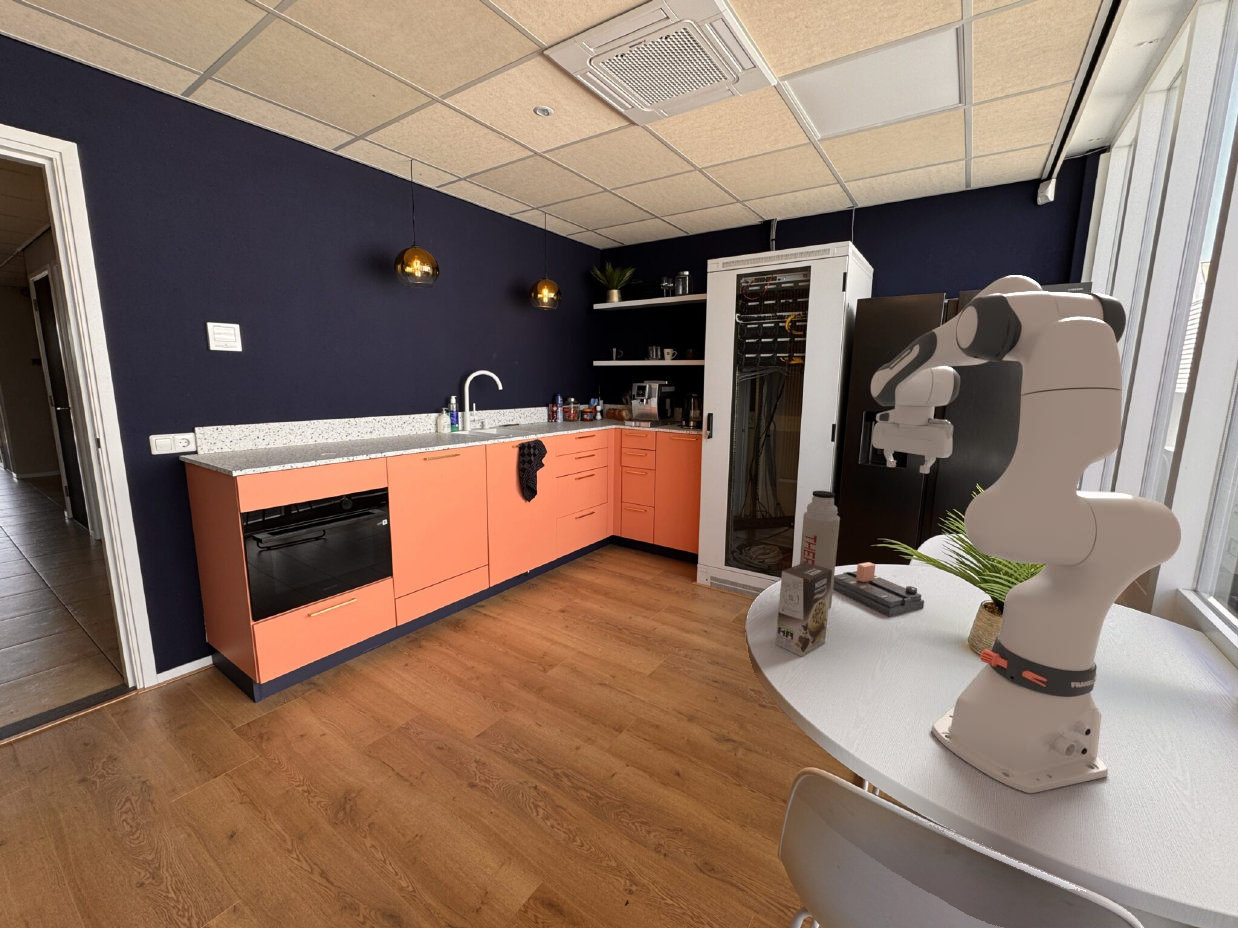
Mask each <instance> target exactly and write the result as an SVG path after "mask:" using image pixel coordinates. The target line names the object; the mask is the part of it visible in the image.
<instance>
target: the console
mask: <svg viewBox="0 0 1238 928" xmlns="http://www.w3.org/2000/svg"><path fill="white" fill-rule="evenodd" d="M856 576H857V570H856V571H846V572H842V573H841V574H836V575H835V574H834V583H833V592H835V593H838V594H841V595H842V596H845V597H847V598H849V599H850V600H853V601H854V602H857V603H858V604H860V605H862V606H865V607H867V608H869V609H870V610H873V611H875V612H878V613H880V614H881V615H884V616H886V617H888V618H891V617H895V616H899V615H904V614H907V613H910V612H915V611H918V610H919V611H920V610H923V609H924V606H925V600H923V599H922V594H920V593H918V588H917V587H916V586H911V585H909V586H906V587H905V586H901V585H899V584H896V583H894V582H891V581H889V580H887V579H885V578H882V577H880V576H879V575H875V574H874V580H870V584H868V583H865V582H862V581H859V580H857V579H856Z"/></svg>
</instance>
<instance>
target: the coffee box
mask: <svg viewBox="0 0 1238 928" xmlns="http://www.w3.org/2000/svg"><path fill="white" fill-rule="evenodd" d="M831 578H832V570H830V569H827V568H824V567H820V566H817V565H812V564H809V563H806V562H804V563H802V564H800V563H799V564H797V565H794V566H791V567H789V568H786V569H783V570H781V580H780V590H779V591H780V592H779V603H778V613H777V614H778V615H777V625H776V636H775V645H777V646H778V647H781V648H783V649H785V650H787V651H789V652H792V653H793V654H795V655H797V656H799V657H803V656H806V655H807V654H809V653H810V652H812V651H814V650H816V649H817V648H819V647H821V646H822V645H824V644H825V643H826V637H827V629H828V618H829V617H828V616H829V610H828V608H829V598H830V588H831Z"/></svg>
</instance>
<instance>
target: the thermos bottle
mask: <svg viewBox="0 0 1238 928" xmlns="http://www.w3.org/2000/svg"><path fill="white" fill-rule="evenodd" d="M835 497H836V494H835V493H834V492H833V491H828V490H813V491H812V497H811V502H810V503H808V504H807V506H806V512H804V513H803V517H802V519H803V520H802V529H801V531H802V532H801V542H800V543H801V544H800V558H799V559H800V560H799V564H802V563H804V562H806V563H809V564H812V565H817V566H820V567H824V568H827V569H830V570H832V578H831V588H830V598H829V608H828V611H829V610H830V609H831V608H832V605H833V592H834V590H833V583H834V575H835V572H836V562H837V550H838V542H839V541H838V539H839V531H840V520H841V517H840V516H839V515H838V514H839V512H838V507H837V506H836V505H835Z"/></svg>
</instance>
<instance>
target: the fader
mask: <svg viewBox="0 0 1238 928" xmlns="http://www.w3.org/2000/svg"><path fill="white" fill-rule="evenodd" d="M856 571H857V576H856V579H857V580H859V581H862V582H865V583H868V584H870V580H874V575H875V572H876V564H875V563H872V562H870V561H868V562H862V563H858V564H857V569H856Z"/></svg>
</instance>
